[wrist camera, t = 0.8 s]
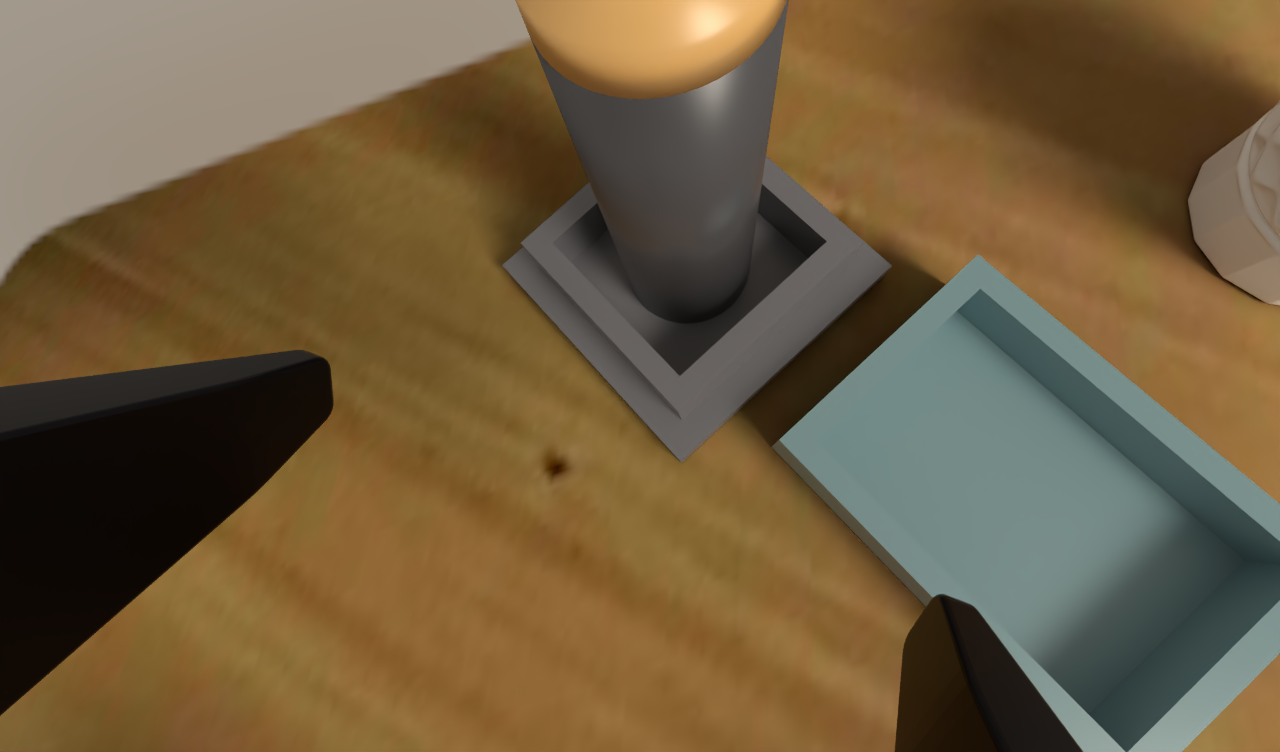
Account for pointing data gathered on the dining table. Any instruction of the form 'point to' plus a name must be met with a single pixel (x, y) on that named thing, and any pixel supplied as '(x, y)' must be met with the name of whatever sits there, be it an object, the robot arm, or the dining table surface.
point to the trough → (1053, 513)
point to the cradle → (713, 349)
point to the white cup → (1243, 209)
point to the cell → (668, 133)
